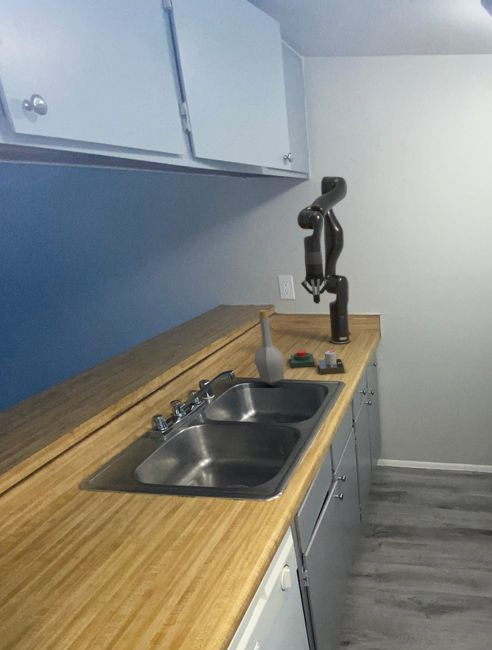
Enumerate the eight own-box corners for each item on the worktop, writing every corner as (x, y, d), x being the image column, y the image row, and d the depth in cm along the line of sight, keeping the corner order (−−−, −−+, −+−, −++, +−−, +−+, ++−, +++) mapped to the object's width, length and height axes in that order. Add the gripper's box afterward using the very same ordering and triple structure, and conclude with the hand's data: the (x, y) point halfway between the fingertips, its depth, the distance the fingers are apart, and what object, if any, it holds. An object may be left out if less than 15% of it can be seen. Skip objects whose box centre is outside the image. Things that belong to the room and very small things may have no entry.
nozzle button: (297, 354, 215) (296, 350, 214) (306, 353, 216) (305, 350, 215) (297, 357, 212) (297, 353, 211) (306, 356, 212) (306, 352, 212)
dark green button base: (291, 359, 219) (290, 351, 218) (312, 358, 222) (312, 350, 220) (291, 368, 209) (290, 359, 207) (314, 366, 211) (313, 357, 209)
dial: (330, 366, 204) (329, 354, 202) (323, 363, 207) (322, 351, 205) (338, 363, 207) (337, 351, 205) (331, 361, 210) (330, 349, 208)
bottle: (292, 382, 193) (283, 308, 179) (279, 392, 184) (269, 315, 169) (266, 380, 195) (256, 306, 181) (253, 390, 186) (241, 313, 172)
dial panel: (318, 365, 213) (318, 359, 211) (341, 363, 215) (340, 358, 213) (321, 374, 202) (320, 368, 201) (344, 372, 204) (343, 366, 203)
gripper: (328, 260, 208) (330, 301, 216) (297, 261, 205) (301, 302, 213) (330, 263, 201) (332, 304, 210) (298, 263, 199) (302, 305, 207)
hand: (316, 303), depth 211 cm, fingers closed
